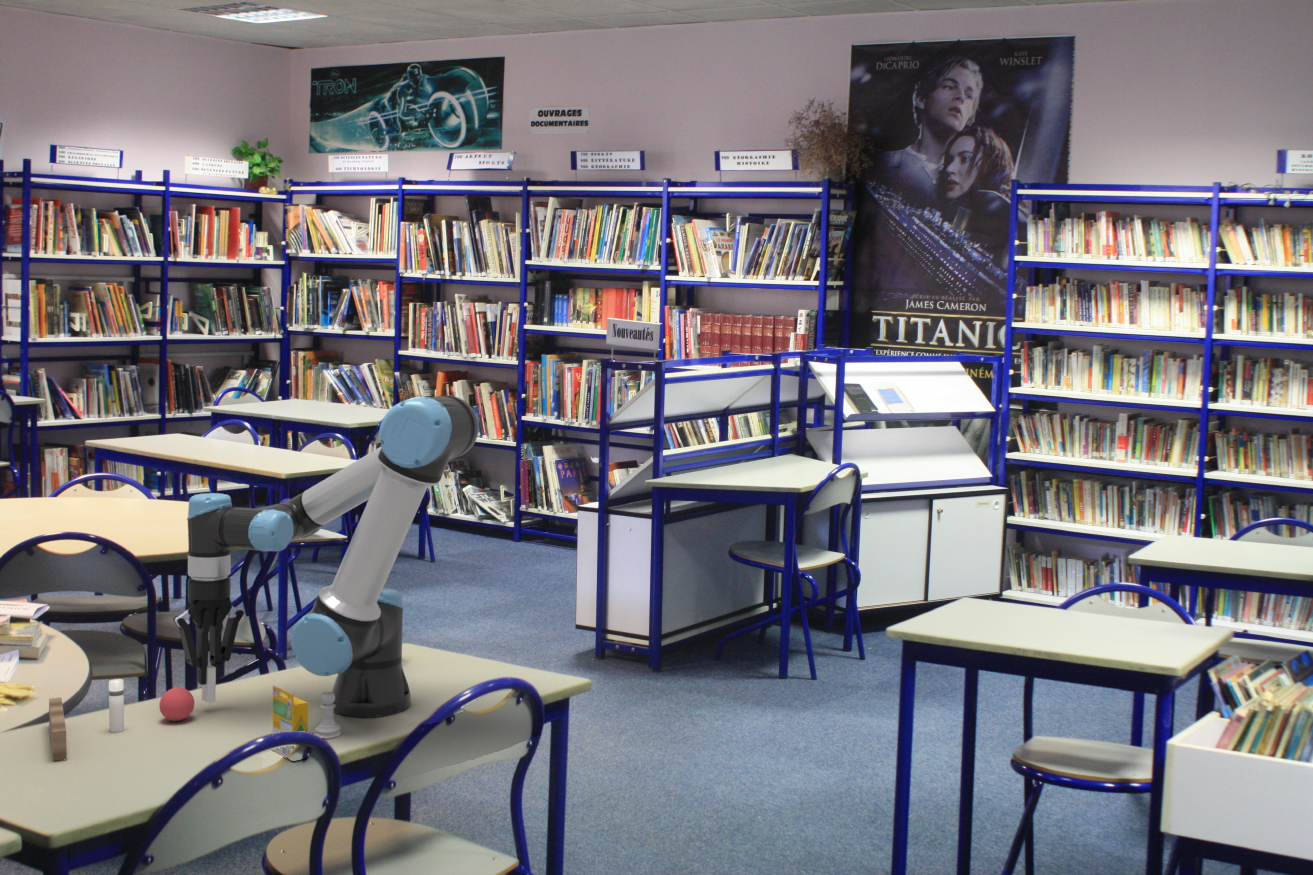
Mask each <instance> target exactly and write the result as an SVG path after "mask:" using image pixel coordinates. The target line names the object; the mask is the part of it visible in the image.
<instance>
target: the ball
mask: <svg viewBox="0 0 1313 875" xmlns="http://www.w3.org/2000/svg"><path fill="white" fill-rule="evenodd" d="M159 700H160V701H159V711H160V713H161V715H162V716H163V717H164V718H165V719H166V720H168V721H173V722H179V721H183V720H184V719H186V718H188V717H189V716H190V715H191V714H192V712H193V711H194V708H195V697H194V695H193V694H192V693H191V691H189V690H188V689H186V688H182V687H173V688H170V689H168V690H167V691H166V692H164V693H163V695H162V696H161V698H160V699H159Z"/></svg>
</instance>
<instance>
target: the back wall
mask: <svg viewBox="0 0 1313 875" xmlns="http://www.w3.org/2000/svg"><path fill="white" fill-rule="evenodd" d="M64 713H65V712H64V707H63V699H62V697H52V698H51V697H50V698H48V716H49V718H48V720H49V721H48V722H49V723H48V724H49V725H48V726H50V727H49V736H51V737H50V744H51V746H52V747H51V746H50V747H51V754H52V755H51V756H52V762H53V761H54V762H56V761H55V760H62V761H65V760H64V759H66V760H67V726H66V721H65V720H66V719H65V714H64Z"/></svg>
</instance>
